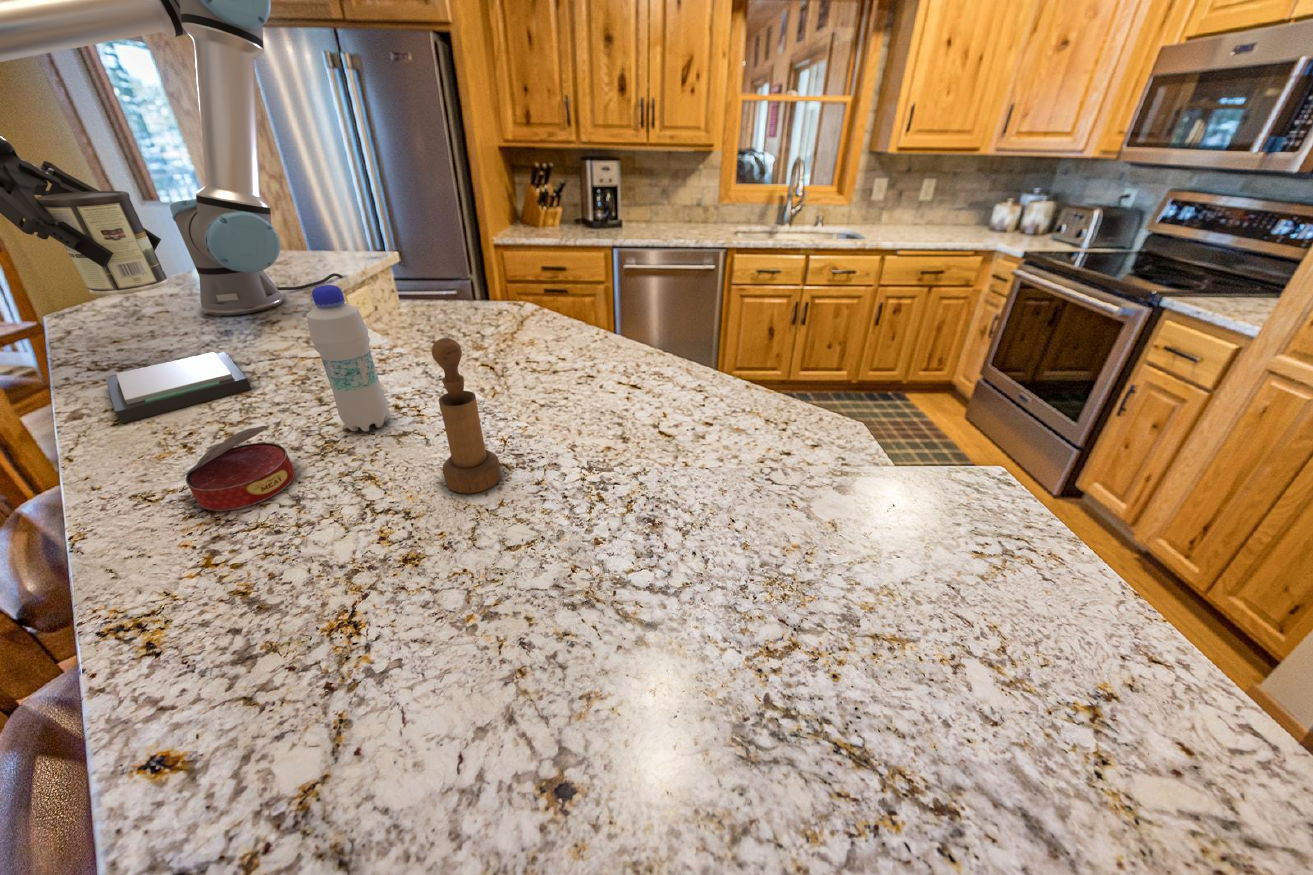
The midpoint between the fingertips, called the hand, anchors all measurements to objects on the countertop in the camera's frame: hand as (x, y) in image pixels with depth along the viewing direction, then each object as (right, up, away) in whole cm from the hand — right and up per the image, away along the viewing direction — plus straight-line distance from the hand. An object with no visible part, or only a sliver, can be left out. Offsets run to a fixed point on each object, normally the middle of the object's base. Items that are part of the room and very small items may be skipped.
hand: (133, 252), depth 86 cm
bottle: (+43, -28, -9) cm, 52 cm away
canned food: (+35, -36, -22) cm, 55 cm away
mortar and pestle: (+62, -35, -20) cm, 74 cm away
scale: (+8, -22, 0) cm, 23 cm away
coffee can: (-3, -5, +3) cm, 6 cm away
